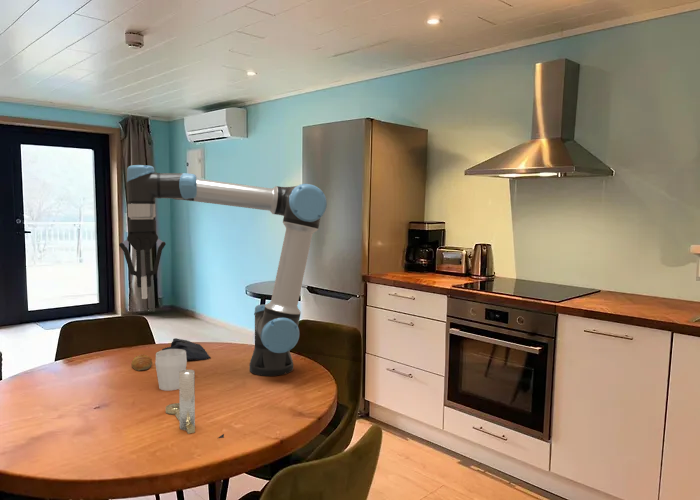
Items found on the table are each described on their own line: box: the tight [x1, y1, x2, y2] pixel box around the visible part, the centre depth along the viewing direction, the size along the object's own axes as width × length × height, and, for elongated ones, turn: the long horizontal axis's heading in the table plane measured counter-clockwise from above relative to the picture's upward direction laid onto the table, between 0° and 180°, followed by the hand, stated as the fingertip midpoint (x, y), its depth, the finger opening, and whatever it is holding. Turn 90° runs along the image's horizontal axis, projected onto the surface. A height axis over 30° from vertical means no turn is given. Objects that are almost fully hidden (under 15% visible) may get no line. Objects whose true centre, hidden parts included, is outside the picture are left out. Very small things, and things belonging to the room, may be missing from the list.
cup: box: [154, 349, 188, 392], centre depth 156 cm, size 9×9×12 cm
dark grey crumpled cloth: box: [161, 338, 212, 361], centre depth 197 cm, size 15×22×5 cm
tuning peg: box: [165, 369, 196, 435], centre depth 132 cm, size 18×5×14 cm, turn 32°
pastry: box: [131, 354, 153, 372], centre depth 180 cm, size 9×7×4 cm
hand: (144, 298), depth 153 cm, fingers closed
